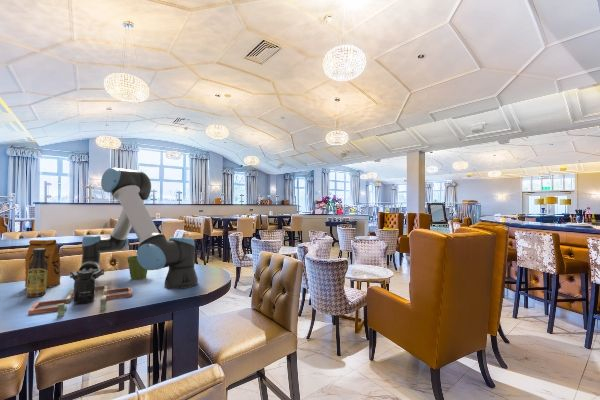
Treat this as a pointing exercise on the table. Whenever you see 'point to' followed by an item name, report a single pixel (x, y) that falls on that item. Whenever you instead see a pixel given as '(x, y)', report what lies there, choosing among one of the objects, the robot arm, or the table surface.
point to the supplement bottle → (84, 287)
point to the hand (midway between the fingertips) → (83, 281)
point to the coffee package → (50, 257)
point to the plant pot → (136, 268)
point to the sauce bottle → (37, 274)
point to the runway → (60, 303)
